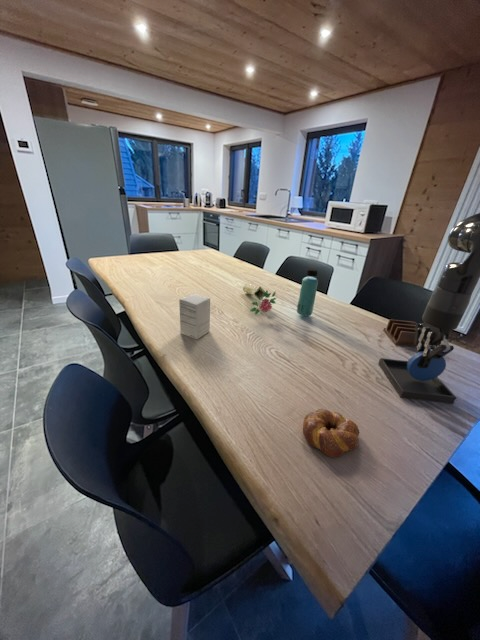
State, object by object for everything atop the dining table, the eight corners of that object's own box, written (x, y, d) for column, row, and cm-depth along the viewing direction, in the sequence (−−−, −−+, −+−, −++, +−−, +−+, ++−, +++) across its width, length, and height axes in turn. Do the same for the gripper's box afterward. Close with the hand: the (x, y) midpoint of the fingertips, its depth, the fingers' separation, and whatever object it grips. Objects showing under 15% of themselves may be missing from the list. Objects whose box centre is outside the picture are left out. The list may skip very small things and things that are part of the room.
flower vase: (253, 308, 133) (280, 325, 100) (230, 301, 129) (251, 317, 96) (261, 286, 131) (291, 296, 98) (238, 278, 127) (261, 286, 94)
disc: (425, 382, 75) (450, 358, 71) (428, 385, 74) (453, 362, 70) (399, 368, 74) (422, 344, 70) (402, 372, 73) (426, 348, 69)
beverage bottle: (313, 315, 111) (323, 269, 103) (308, 321, 106) (318, 272, 97) (298, 311, 114) (307, 266, 105) (293, 316, 109) (301, 269, 100)
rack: (411, 333, 103) (416, 321, 101) (427, 348, 93) (432, 335, 91) (383, 330, 104) (387, 318, 101) (395, 344, 94) (400, 331, 91)
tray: (421, 368, 81) (424, 363, 80) (453, 403, 67) (456, 397, 66) (378, 363, 82) (380, 358, 81) (400, 397, 68) (403, 391, 67)
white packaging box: (193, 325, 95) (193, 292, 90) (210, 331, 92) (211, 297, 86) (179, 333, 89) (178, 298, 84) (196, 340, 86) (196, 304, 81)
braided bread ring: (342, 414, 61) (346, 401, 60) (370, 456, 52) (376, 443, 50) (293, 417, 59) (296, 404, 58) (312, 461, 50) (316, 448, 48)
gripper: (482, 320, 58) (449, 382, 66) (445, 298, 70) (420, 353, 78) (447, 316, 59) (418, 379, 66) (416, 295, 71) (394, 350, 78)
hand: (419, 364), depth 72 cm, fingers closed on disc, 1 cm apart
